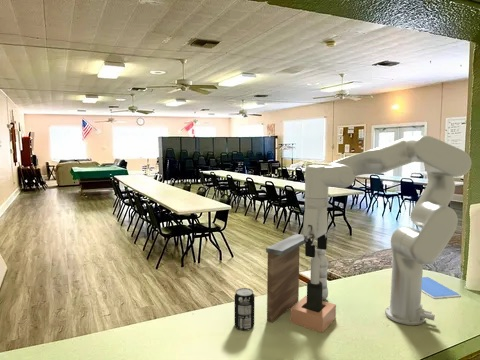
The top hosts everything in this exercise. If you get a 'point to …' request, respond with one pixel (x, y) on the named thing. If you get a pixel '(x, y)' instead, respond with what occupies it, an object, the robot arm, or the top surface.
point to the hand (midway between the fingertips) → (316, 252)
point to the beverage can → (244, 309)
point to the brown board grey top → (283, 276)
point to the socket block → (313, 315)
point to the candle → (314, 286)
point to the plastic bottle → (323, 271)
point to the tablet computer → (436, 289)
